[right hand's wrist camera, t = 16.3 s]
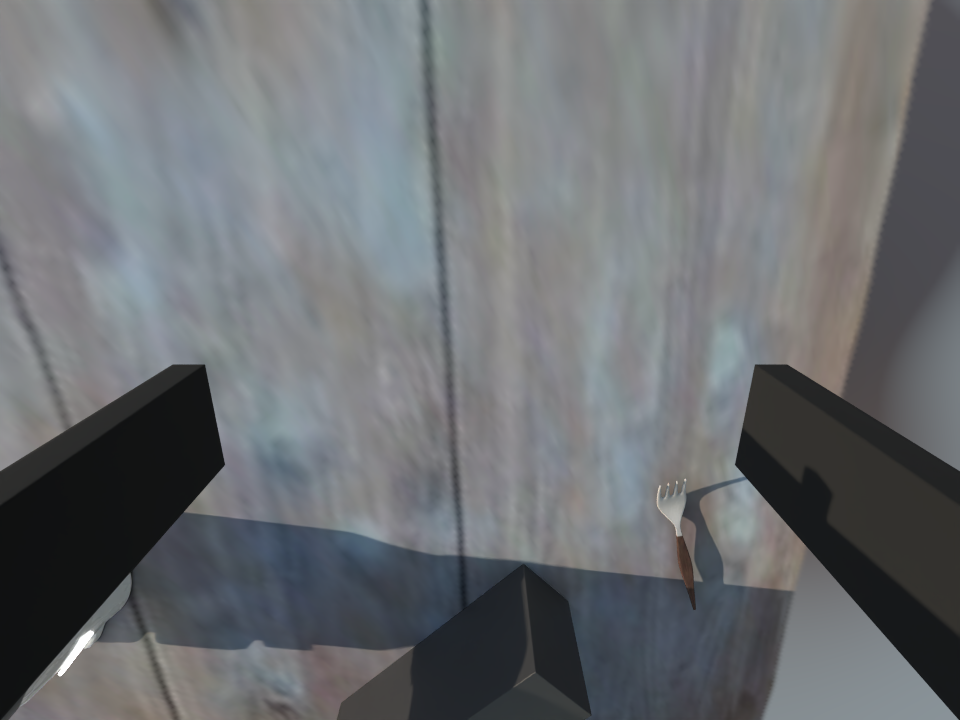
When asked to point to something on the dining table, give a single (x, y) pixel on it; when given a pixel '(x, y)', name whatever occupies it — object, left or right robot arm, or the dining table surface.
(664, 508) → the fork
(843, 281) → the dining table surface
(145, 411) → the right robot arm
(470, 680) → the box
